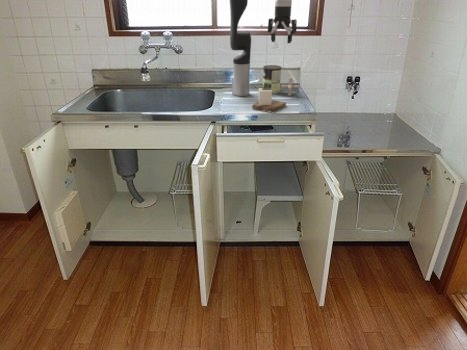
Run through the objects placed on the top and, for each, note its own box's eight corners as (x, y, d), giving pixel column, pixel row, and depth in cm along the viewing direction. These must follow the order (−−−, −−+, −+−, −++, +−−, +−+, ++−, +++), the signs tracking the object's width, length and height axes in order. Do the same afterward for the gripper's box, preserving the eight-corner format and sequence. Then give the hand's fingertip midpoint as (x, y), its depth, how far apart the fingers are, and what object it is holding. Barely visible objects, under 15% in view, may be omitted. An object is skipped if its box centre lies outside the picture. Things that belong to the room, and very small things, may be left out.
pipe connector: (298, 98, 190) (299, 79, 185) (279, 97, 191) (280, 79, 187) (298, 93, 198) (300, 75, 194) (281, 92, 200) (282, 75, 195)
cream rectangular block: (259, 105, 172) (259, 89, 168) (258, 101, 177) (258, 86, 174) (271, 105, 172) (271, 89, 168) (270, 101, 177) (270, 86, 174)
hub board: (252, 108, 174) (252, 104, 173) (265, 102, 183) (265, 98, 182) (273, 112, 167) (273, 108, 166) (285, 106, 177) (286, 102, 176)
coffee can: (261, 93, 199) (262, 68, 193) (263, 89, 208) (263, 64, 202) (279, 94, 198) (281, 68, 191) (280, 89, 207) (281, 65, 200)
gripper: (265, 5, 161) (264, 42, 168) (293, 5, 153) (290, 44, 161) (273, 4, 166) (272, 40, 174) (300, 5, 159) (297, 42, 167)
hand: (281, 42), depth 167 cm, fingers open, 8 cm apart
